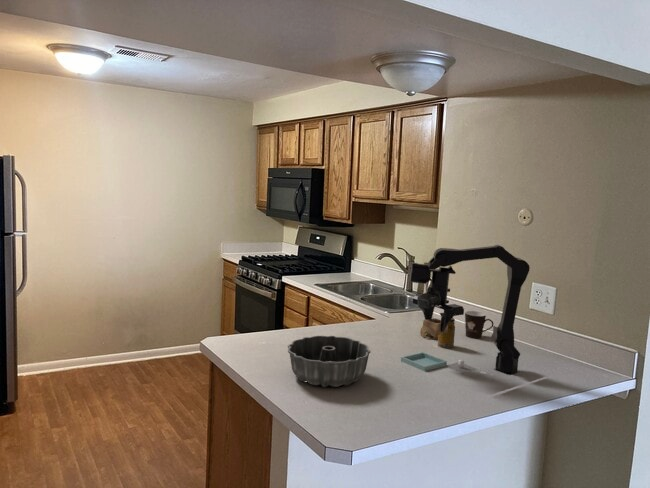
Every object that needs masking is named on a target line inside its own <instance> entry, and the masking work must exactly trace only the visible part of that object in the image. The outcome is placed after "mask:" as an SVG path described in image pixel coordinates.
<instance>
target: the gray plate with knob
mask: <svg viewBox="0 0 650 488" xmlns="http://www.w3.org/2000/svg"><path fill="white" fill-rule="evenodd" d="M444 367H446V368H449V369H450V370H454V371H456V372H457V373H458V372H459V373H460V374H465V373H469V372H473V371H476V370H478V368H476V367H473V366H471V365H468V364H465V361H464V360H463V359H458V362H455V363H451V364H447V365H446V366H444Z"/></svg>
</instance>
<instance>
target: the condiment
mask: <svg viewBox="0 0 650 488" xmlns="http://www.w3.org/2000/svg"><path fill="white" fill-rule="evenodd" d="M455 323H456V322H455V318H454V317H453V318H452V319H451V320H450V322H449V323H448V331H447V333H442V334H439V335H438V340H437V345H433V346H432V347H433V348H441V349H448V350H449V349H453V348H454V347H455V346H454V345H455V335H456V333H455V332H456V326H455Z"/></svg>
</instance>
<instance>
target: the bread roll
mask: <svg viewBox="0 0 650 488" xmlns="http://www.w3.org/2000/svg"><path fill="white" fill-rule="evenodd" d="M419 332H420V336H421V337H422V338H424V339H427V340H435V341H438V335H439V334H433V333H430V332H427V331H425V330H423V325H422V326H421V327H420V331H419Z"/></svg>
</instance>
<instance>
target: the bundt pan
mask: <svg viewBox="0 0 650 488" xmlns="http://www.w3.org/2000/svg"><path fill="white" fill-rule="evenodd" d="M287 352H288V354H289V358H290V364H291V370H292V372H293V374H294V376H296V377H297V378H298V379H299V380H300V381H301V382H302V381H307V382H308V384H310V385H312V386H320V385H321V386H322V387H324V388H327V387H328V386H331V387H333V388H335V387H337V388H338V387H340V386H345V385H346V386H349V385H351V384H352V383H355V382H357V381H358V380H360V379H361V378H362V376H363V375H364V374H365V373H366V370H367V366H368V360H369V356H370V353H371V349H369V346H368V345H367V344H365V343H363V342H361V341H360V340H356V339H353V338H350V337H345V336H335V335H314V336H305V337H302V338H300V339H294V340H293V341H292V342H291V343H290V344H288V345H287Z"/></svg>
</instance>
